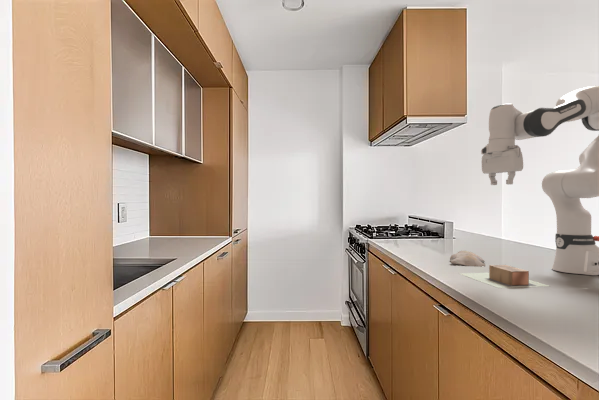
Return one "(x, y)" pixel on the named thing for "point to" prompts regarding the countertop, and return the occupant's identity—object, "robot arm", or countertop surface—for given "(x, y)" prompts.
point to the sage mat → (485, 279)
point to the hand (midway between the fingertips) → (501, 184)
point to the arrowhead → (467, 259)
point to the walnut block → (509, 275)
